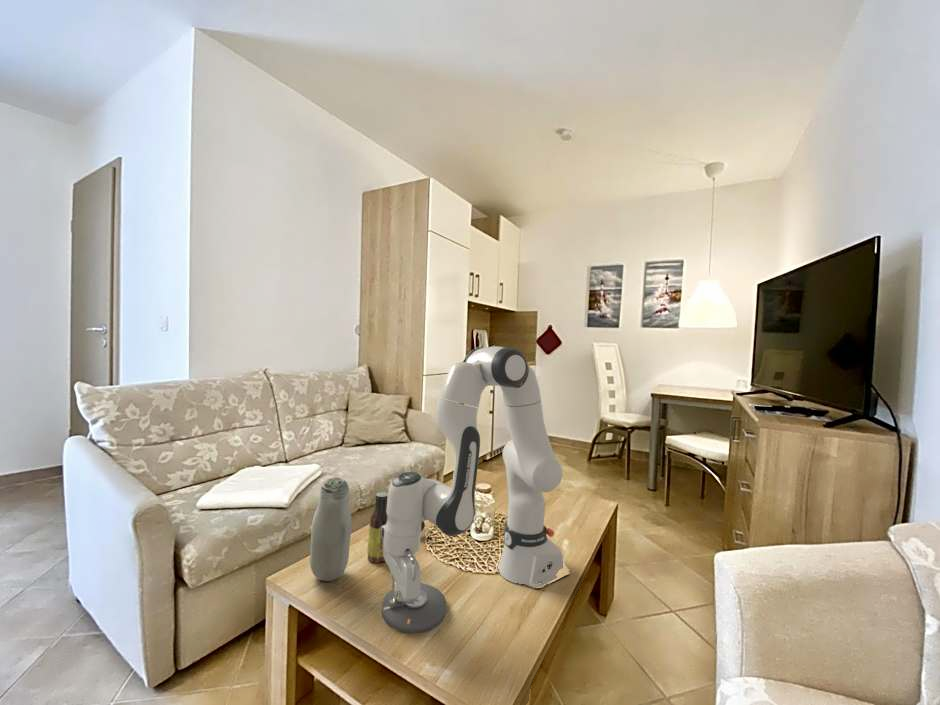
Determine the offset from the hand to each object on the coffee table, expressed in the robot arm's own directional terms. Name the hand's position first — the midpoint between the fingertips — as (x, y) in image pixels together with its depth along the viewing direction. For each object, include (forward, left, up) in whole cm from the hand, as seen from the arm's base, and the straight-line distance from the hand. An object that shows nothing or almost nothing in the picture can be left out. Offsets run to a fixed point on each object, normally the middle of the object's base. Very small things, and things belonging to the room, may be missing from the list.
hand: (398, 594), depth 100 cm
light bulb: (-3, 0, -3) cm, 4 cm away
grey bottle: (+14, -21, -5) cm, 26 cm away
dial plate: (-4, 0, -5) cm, 7 cm away
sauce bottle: (-1, -26, -5) cm, 27 cm away
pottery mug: (-15, -37, -5) cm, 40 cm away
